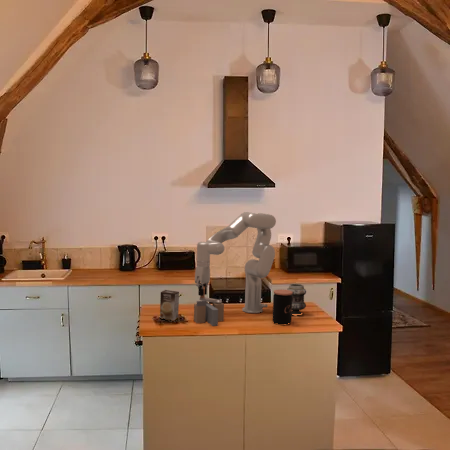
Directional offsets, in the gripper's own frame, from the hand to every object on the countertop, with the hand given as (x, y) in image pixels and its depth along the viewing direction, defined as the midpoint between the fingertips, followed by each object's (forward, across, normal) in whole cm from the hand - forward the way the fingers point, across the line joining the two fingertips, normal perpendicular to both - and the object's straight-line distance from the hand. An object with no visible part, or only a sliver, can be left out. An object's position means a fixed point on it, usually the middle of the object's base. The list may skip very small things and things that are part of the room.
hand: (202, 294), depth 294 cm
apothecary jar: (+14, -38, +43) cm, 59 cm away
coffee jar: (+14, -16, +43) cm, 48 cm away
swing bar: (+3, 0, +6) cm, 6 cm away
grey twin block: (+13, +5, +7) cm, 16 cm away
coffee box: (+13, +15, -12) cm, 24 cm away
